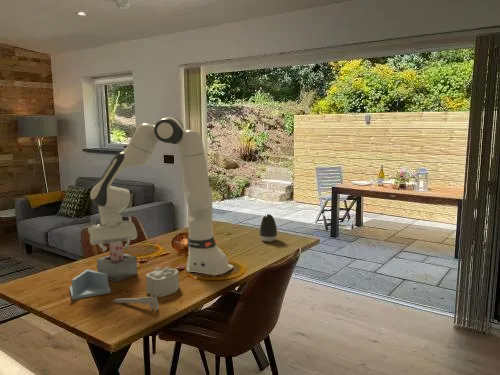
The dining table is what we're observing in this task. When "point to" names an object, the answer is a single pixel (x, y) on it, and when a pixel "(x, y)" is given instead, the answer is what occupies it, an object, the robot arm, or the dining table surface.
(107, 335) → the dining table surface
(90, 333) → the dining table surface
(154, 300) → the caliper
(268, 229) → the dark grey egg shape
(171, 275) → the lumpy-topped squat cylinder
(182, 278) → the dining table surface
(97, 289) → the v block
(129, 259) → the pocket block
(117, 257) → the beverage can
